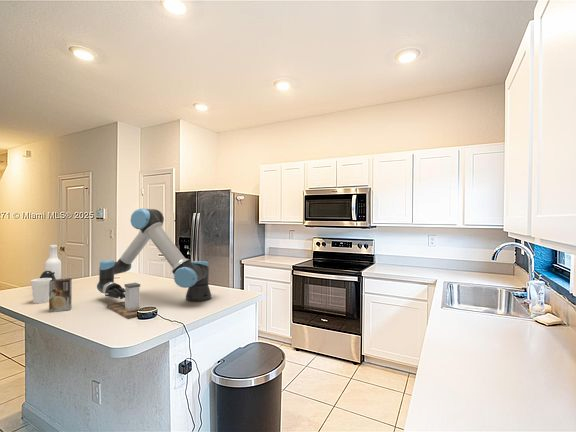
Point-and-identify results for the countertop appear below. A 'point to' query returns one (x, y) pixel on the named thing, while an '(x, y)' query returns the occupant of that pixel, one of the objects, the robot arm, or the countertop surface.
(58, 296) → the coffee box
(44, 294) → the foam cup
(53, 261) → the alcohol
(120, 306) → the rail board
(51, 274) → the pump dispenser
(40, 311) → the countertop surface
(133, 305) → the silver square canister
